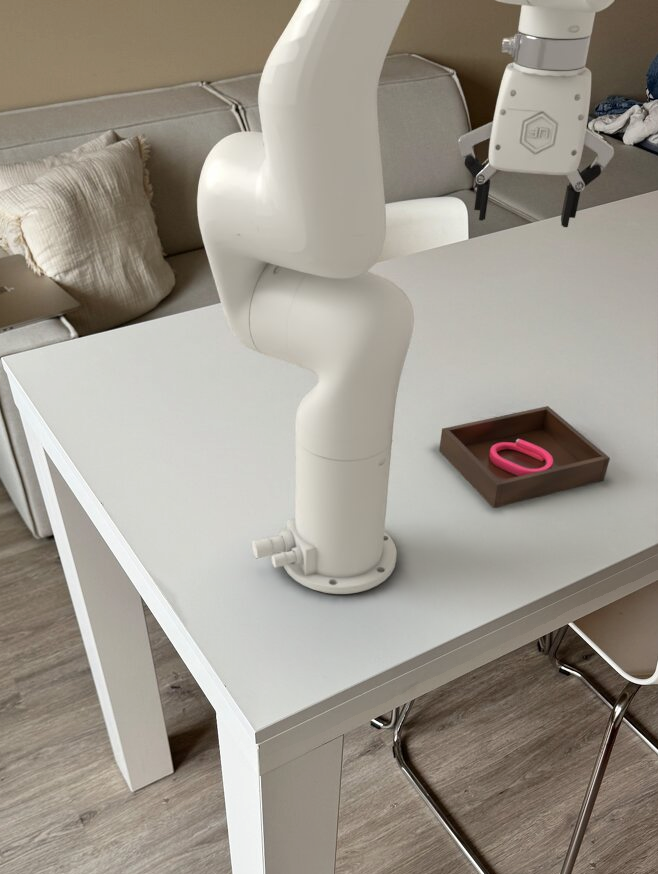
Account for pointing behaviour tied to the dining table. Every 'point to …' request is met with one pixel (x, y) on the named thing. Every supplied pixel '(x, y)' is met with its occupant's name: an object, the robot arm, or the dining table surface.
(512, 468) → the fitness band
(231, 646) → the dining table surface
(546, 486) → the walnut tray
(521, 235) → the dining table surface
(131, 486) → the dining table surface
